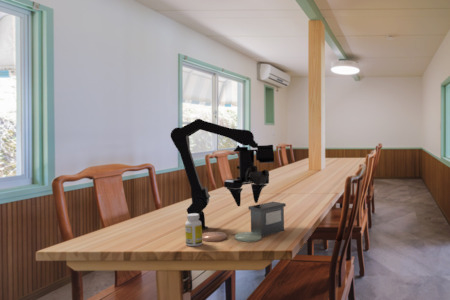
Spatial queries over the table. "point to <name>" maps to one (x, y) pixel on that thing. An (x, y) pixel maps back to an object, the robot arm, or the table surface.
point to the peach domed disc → (213, 236)
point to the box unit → (267, 218)
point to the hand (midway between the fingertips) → (247, 204)
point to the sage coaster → (248, 237)
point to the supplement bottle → (193, 230)
